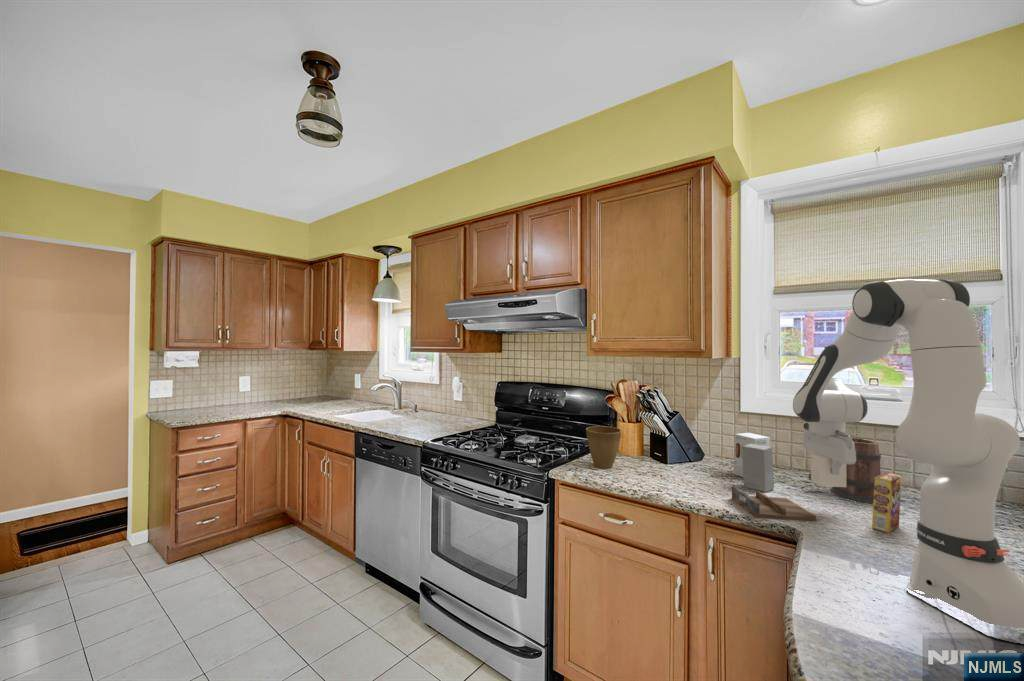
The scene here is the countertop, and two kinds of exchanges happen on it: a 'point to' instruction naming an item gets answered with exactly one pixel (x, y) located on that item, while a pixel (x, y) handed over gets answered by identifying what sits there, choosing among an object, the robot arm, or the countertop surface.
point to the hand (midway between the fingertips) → (828, 471)
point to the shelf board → (770, 506)
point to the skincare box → (758, 467)
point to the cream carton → (826, 472)
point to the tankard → (860, 473)
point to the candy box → (886, 502)
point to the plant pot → (603, 445)
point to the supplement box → (746, 439)
